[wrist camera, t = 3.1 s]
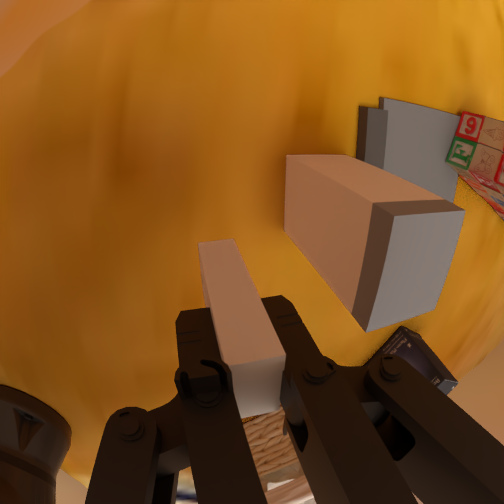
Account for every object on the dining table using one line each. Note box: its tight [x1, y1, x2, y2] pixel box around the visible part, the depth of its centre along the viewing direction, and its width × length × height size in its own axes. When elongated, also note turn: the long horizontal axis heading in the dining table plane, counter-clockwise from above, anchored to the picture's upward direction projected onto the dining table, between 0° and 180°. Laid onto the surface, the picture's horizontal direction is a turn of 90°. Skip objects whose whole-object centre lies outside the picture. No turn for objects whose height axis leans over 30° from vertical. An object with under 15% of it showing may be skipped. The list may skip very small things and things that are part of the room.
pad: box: [356, 98, 461, 203], centre depth 24 cm, size 14×16×1 cm
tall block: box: [284, 154, 466, 332], centre depth 18 cm, size 5×6×12 cm
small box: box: [364, 326, 458, 395], centre depth 33 cm, size 11×6×10 cm, turn 145°
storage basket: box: [243, 406, 317, 504], centre depth 35 cm, size 24×16×15 cm
